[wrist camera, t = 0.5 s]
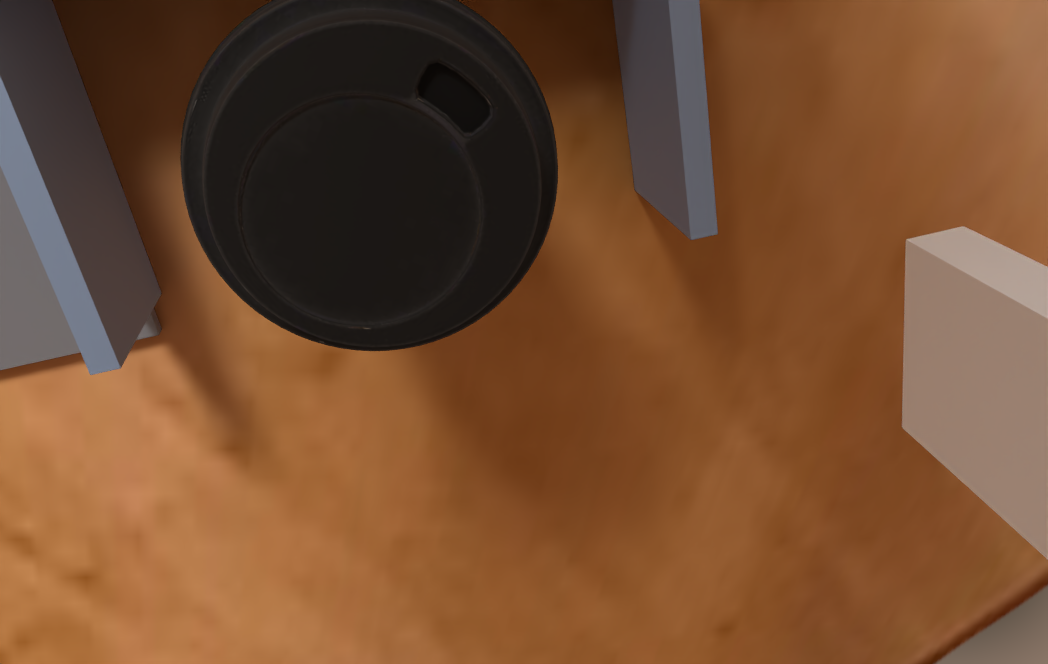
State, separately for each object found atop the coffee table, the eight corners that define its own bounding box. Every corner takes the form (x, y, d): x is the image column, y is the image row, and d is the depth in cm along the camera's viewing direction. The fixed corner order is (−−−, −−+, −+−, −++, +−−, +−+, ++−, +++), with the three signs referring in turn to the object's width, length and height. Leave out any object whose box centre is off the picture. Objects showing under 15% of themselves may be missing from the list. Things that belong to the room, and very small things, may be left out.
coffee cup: (513, -3, 34) (618, 36, 20) (462, 232, 37) (524, 398, 24) (257, -66, 32) (185, -70, 18) (228, 190, 35) (148, 348, 21)
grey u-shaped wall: (3, -45, 30) (-89, -41, 24) (620, -158, 32) (684, -182, 26) (136, 298, 36) (90, 374, 30) (657, 185, 38) (717, 234, 32)
